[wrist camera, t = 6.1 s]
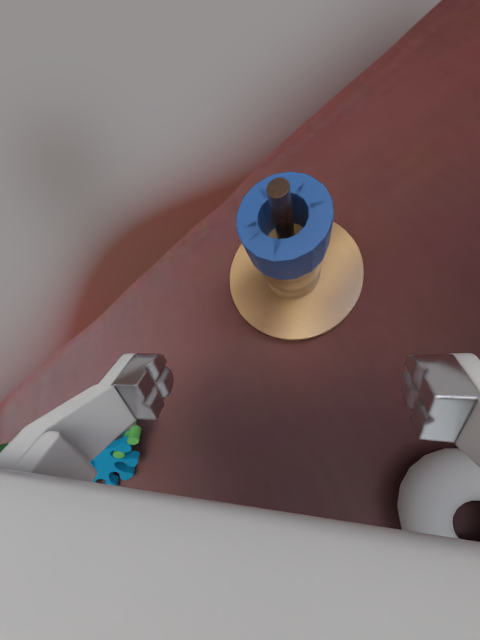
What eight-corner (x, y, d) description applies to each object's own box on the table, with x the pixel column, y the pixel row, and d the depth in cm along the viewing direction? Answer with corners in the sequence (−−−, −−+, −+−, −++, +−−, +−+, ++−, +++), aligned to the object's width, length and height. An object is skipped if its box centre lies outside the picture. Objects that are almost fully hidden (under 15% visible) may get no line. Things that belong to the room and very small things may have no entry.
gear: (67, 511, 26) (-14, 460, 21) (88, 457, 31) (27, 406, 26) (165, 475, 26) (107, 415, 21) (170, 426, 31) (125, 368, 26)
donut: (505, 431, 20) (373, 453, 22) (545, 443, 17) (385, 468, 19) (573, 581, 18) (418, 593, 20) (635, 631, 14) (442, 639, 16)
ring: (326, 200, 18) (330, 163, 15) (330, 276, 17) (335, 255, 14) (248, 211, 20) (236, 180, 17) (248, 282, 19) (235, 264, 16)
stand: (377, 231, 25) (456, 76, 12) (340, 358, 24) (382, 348, 11) (253, 211, 29) (206, 77, 15) (217, 320, 28) (132, 277, 14)
